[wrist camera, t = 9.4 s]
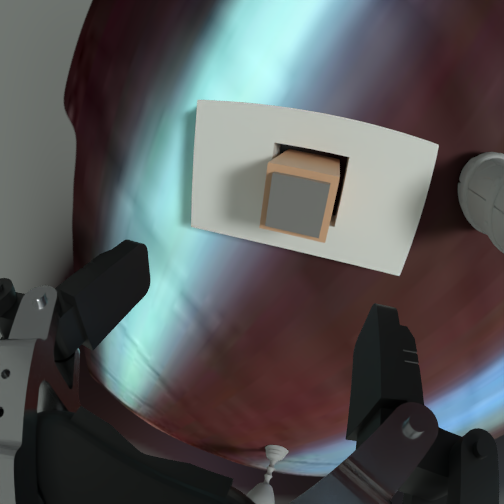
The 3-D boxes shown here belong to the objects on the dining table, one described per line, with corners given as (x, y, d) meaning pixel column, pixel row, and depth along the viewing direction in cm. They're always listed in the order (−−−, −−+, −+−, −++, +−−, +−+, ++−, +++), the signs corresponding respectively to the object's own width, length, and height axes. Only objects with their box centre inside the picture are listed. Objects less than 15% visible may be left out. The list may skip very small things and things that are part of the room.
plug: (288, 148, 25) (265, 163, 17) (339, 159, 24) (339, 179, 16) (281, 196, 27) (256, 231, 19) (329, 207, 26) (324, 246, 19)
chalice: (299, 454, 49) (278, 526, 34) (276, 457, 52) (253, 524, 37) (277, 440, 48) (250, 518, 33) (253, 444, 51) (226, 514, 36)
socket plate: (212, 100, 24) (197, 99, 22) (428, 141, 20) (438, 144, 18) (204, 216, 30) (191, 226, 28) (394, 260, 26) (399, 276, 24)
